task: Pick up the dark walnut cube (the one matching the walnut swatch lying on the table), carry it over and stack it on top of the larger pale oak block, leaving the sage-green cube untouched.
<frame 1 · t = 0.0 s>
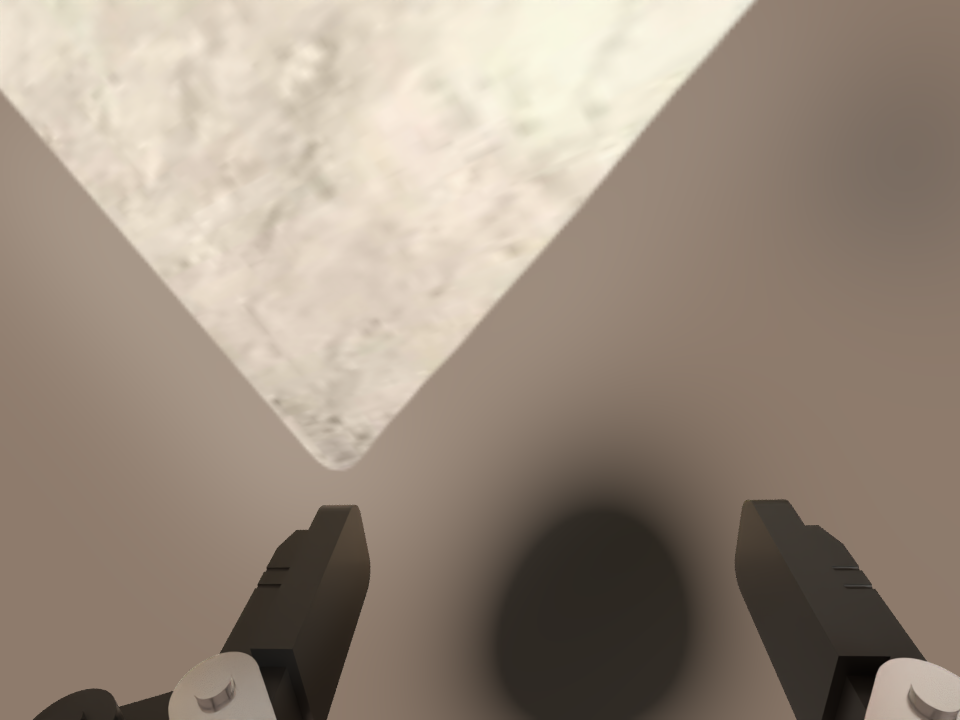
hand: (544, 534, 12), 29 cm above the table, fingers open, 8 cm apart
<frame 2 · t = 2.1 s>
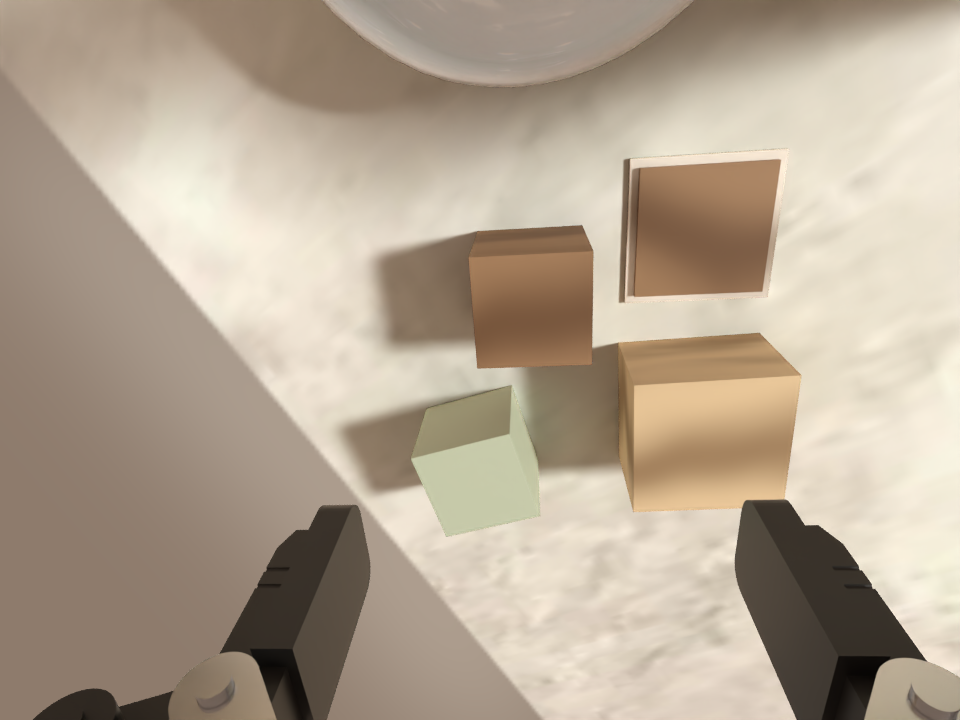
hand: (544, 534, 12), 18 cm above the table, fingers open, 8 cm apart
sage cube: (483, 433, 33), on the table
walnut swatch: (700, 230, 27), on the table
walnut cube: (531, 278, 29), on the table
oak base block: (684, 396, 31), on the table
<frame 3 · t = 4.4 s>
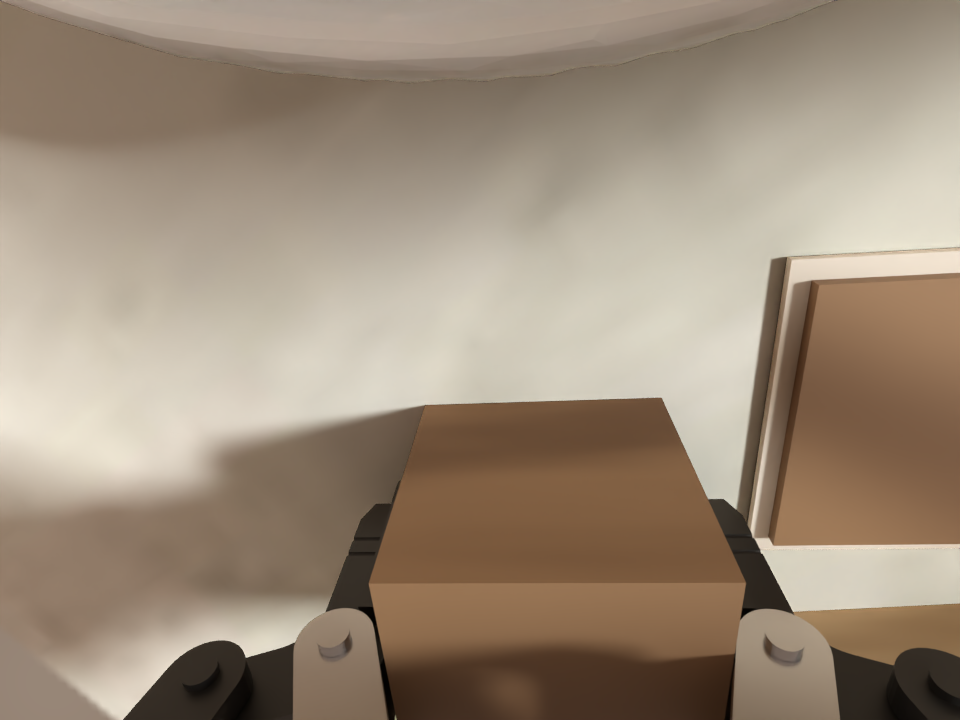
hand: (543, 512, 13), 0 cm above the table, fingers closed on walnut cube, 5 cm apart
walnut swatch: (938, 412, 12), on the table
walnut cube: (544, 496, 13), on the table, touching gripper
oak base block: (848, 697, 15), on the table
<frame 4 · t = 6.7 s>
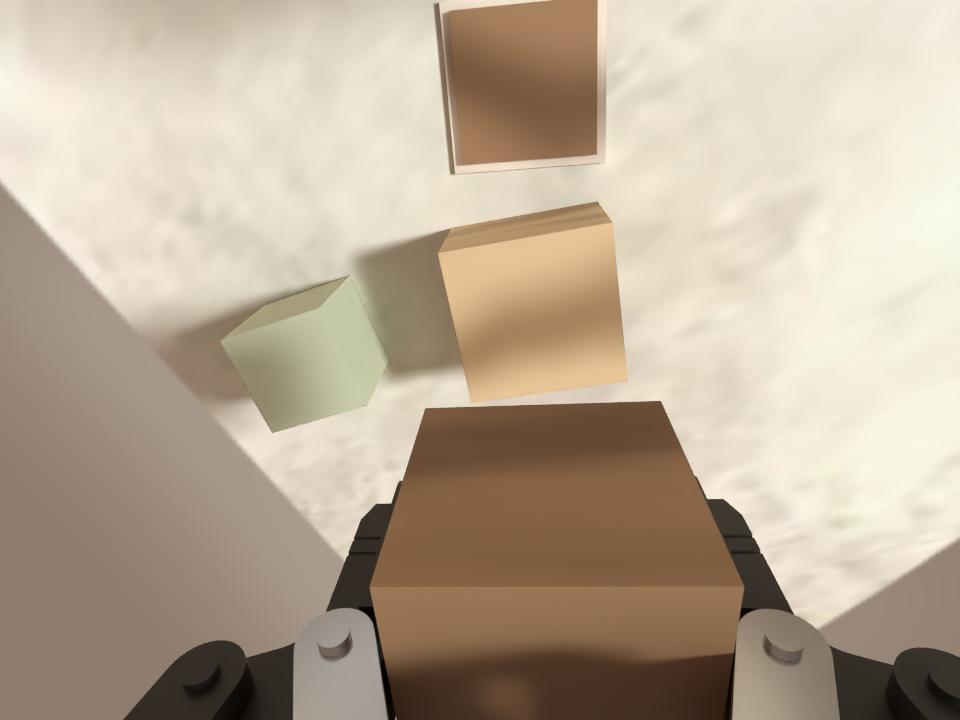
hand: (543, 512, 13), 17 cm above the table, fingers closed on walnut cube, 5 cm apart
sage cube: (328, 332, 30), on the table
walnut swatch: (525, 85, 25), on the table
walnut cube: (544, 499, 13), point 17 cm above the table, touching gripper
oak base block: (534, 284, 29), on the table
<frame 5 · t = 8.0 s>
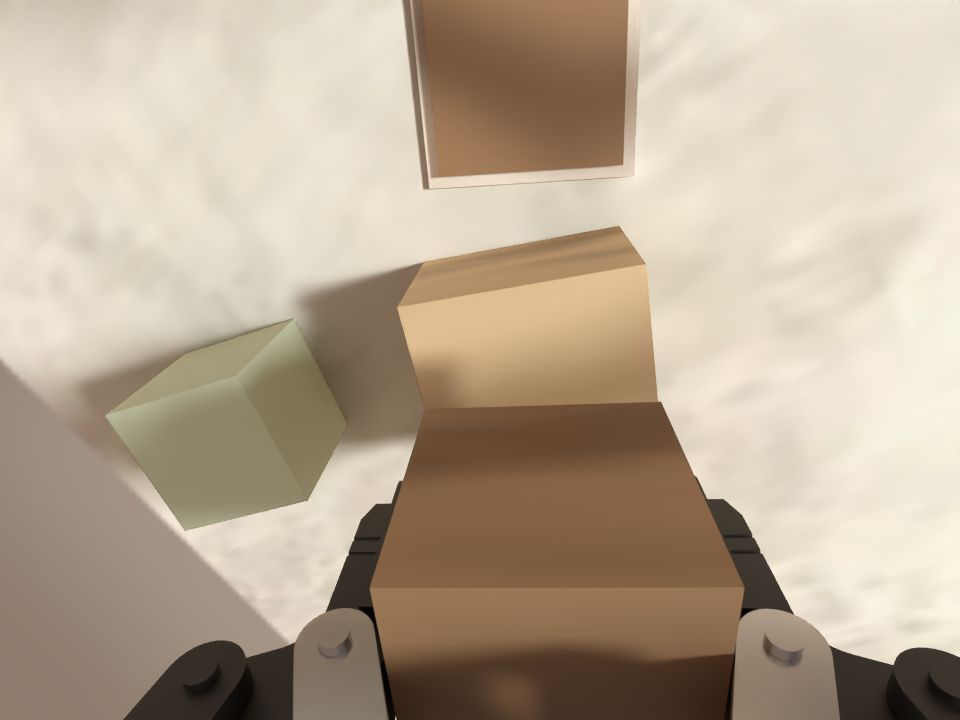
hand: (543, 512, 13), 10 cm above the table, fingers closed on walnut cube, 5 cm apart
sage cube: (269, 388, 24), on the table
walnut swatch: (526, 68, 18), on the table
walnut cube: (544, 499, 13), point 9 cm above the table, touching gripper
oak base block: (534, 332, 22), on the table
when the fingers open (6 cm above the table, at t = 9.1 s): walnut cube drops 1 cm, resting on oak base block.
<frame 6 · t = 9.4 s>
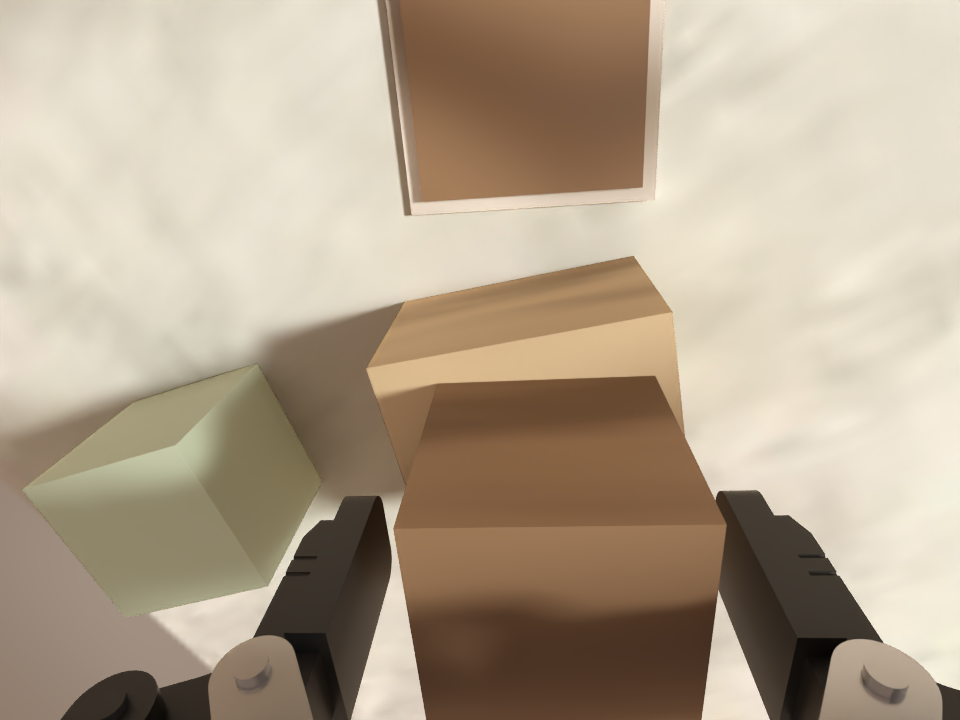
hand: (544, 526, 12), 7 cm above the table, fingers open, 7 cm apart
sage cube: (230, 441, 21), on the table
walnut swatch: (525, 73, 15), on the table
walnut cube: (547, 469, 14), point 5 cm above the table, touching oak base block
oak base block: (536, 379, 19), on the table, touching walnut cube
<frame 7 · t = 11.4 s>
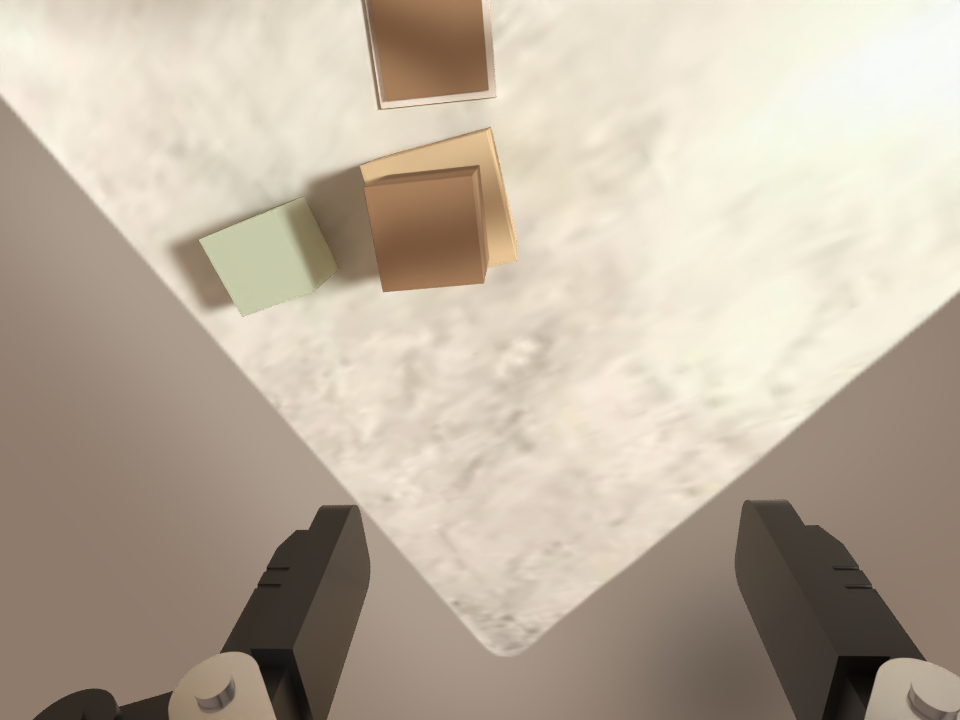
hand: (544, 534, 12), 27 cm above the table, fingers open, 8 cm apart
sage cube: (289, 245, 38), on the table
walnut swatch: (431, 36, 32), on the table
walnut cube: (439, 217, 31), point 5 cm above the table, touching oak base block
oak base block: (450, 200, 36), on the table, touching walnut cube
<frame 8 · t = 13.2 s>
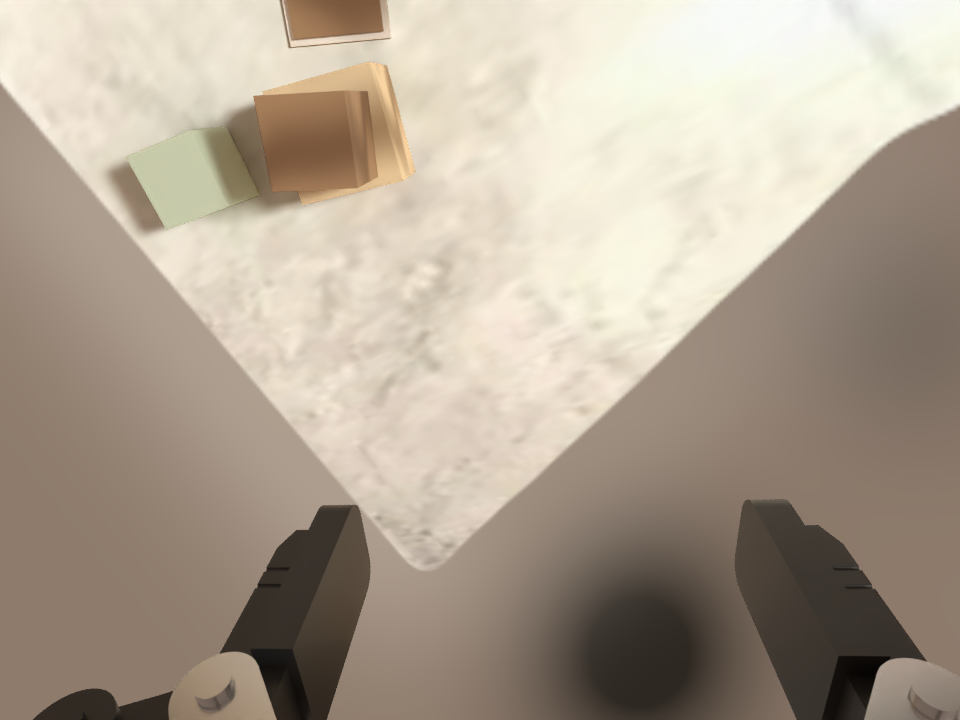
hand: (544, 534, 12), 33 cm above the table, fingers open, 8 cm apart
sage cube: (214, 173, 42), on the table
walnut cube: (334, 137, 36), point 5 cm above the table, touching oak base block
oak base block: (355, 132, 41), on the table, touching walnut cube
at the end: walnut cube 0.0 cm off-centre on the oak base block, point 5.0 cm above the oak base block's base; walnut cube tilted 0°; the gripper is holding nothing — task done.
